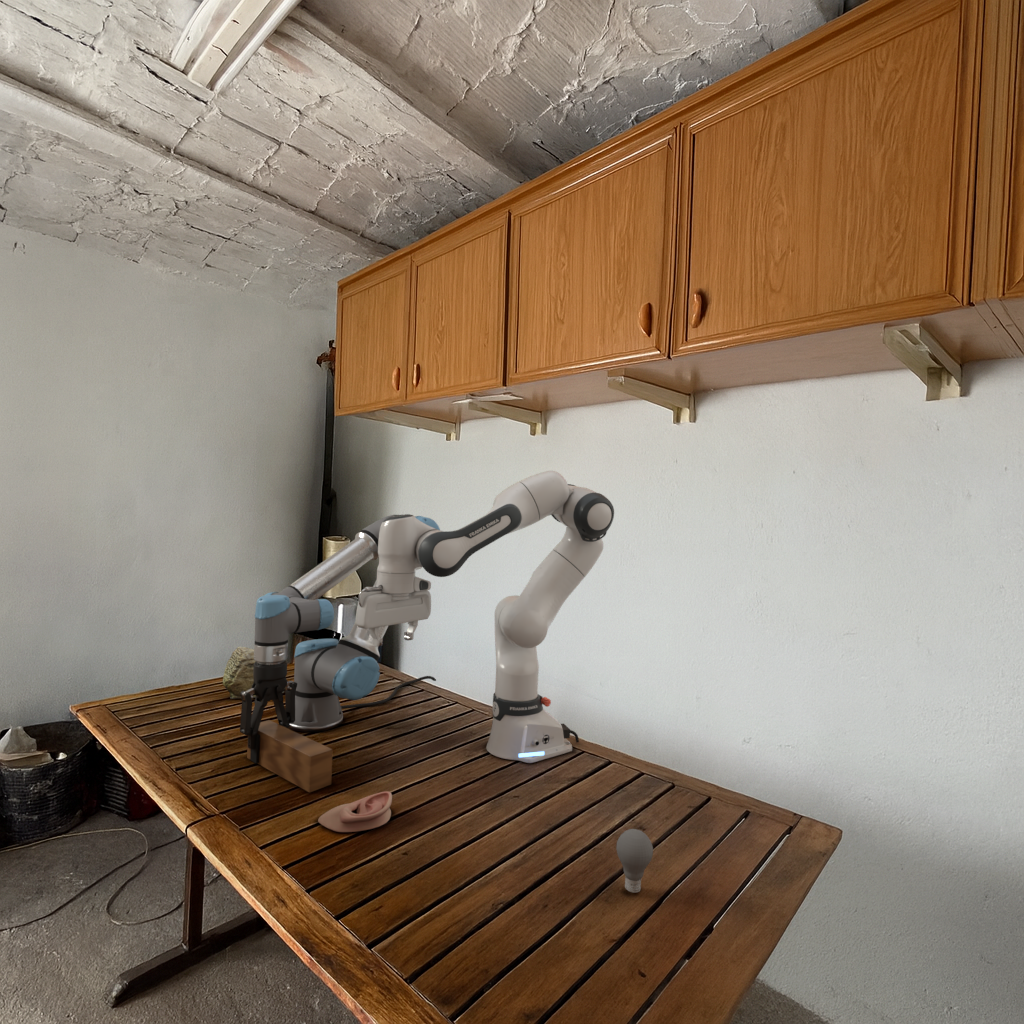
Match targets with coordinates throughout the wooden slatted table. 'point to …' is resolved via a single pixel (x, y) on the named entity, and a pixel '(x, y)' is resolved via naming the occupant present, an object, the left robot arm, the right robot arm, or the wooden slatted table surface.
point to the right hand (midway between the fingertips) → (393, 642)
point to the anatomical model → (359, 814)
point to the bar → (294, 756)
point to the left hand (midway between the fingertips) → (267, 757)
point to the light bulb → (634, 857)
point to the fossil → (239, 672)
